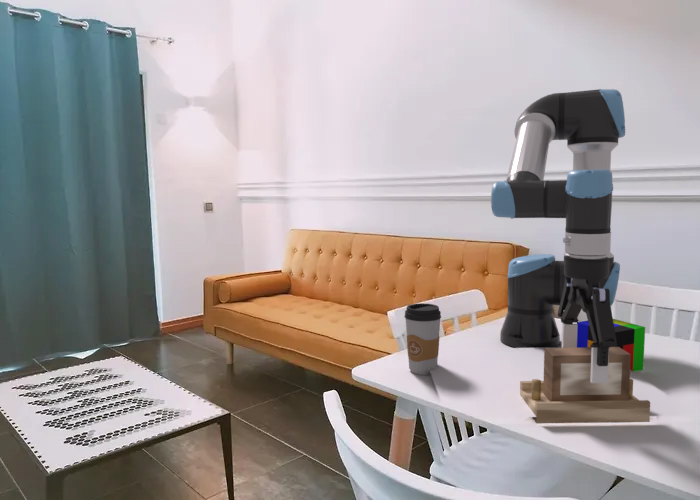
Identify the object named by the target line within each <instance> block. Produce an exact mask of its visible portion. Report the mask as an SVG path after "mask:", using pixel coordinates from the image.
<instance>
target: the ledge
mask: <svg viewBox="0 0 700 500" xmlns="http://www.w3.org/2000/svg"><path fill="white" fill-rule="evenodd" d="M519 385H520V386H519V396H520V398H522V400H523V401H524V403H525V404H526V405H527V406H528V408H529V409H530V410H531V412H532V413H533V414H534V416H532V417H531V418H532V419H533V421H534V422H535V424H577V423H578V424H579V423H580V424H582V423H583V424H584V423H585V424H586V423H589V424H590V423H591V424H592V423H593V424H594V423H650V417H651V401H650V400H648V399H642V400H640V399H638V398H637V397H636V396H635V395H633V392H634V379H633V378H630V381H629V400H628V401H552V402H550V401H549V400H548V398H547V397H546V396H545V395H544V394H543V385H544V380H540V379H538V378H536V379H535V378H533V379H531V380H524V381H523V380H522V381H519Z"/></svg>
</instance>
